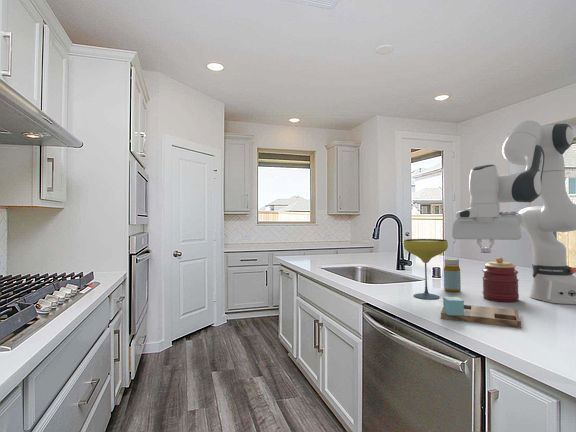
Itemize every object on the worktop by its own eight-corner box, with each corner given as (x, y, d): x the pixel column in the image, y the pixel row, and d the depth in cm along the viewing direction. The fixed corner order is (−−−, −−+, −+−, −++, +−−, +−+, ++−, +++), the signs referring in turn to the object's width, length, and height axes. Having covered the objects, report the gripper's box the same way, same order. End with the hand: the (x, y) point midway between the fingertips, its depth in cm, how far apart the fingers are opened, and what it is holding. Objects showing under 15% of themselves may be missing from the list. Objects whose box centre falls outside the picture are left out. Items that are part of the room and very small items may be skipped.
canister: (525, 303, 134) (524, 259, 134) (489, 302, 136) (488, 258, 137) (510, 295, 147) (509, 255, 147) (478, 295, 149) (477, 255, 149)
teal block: (458, 311, 117) (458, 297, 117) (464, 315, 112) (463, 300, 112) (443, 311, 118) (443, 296, 118) (448, 315, 113) (448, 300, 113)
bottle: (463, 292, 155) (462, 259, 155) (448, 292, 155) (447, 260, 156) (456, 288, 162) (455, 258, 162) (441, 289, 162) (441, 258, 163)
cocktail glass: (401, 291, 158) (400, 239, 158) (442, 292, 155) (440, 238, 156) (409, 301, 140) (407, 241, 141) (455, 302, 138) (453, 241, 138)
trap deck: (517, 315, 117) (517, 309, 117) (521, 328, 105) (521, 321, 105) (445, 307, 129) (445, 302, 129) (440, 318, 116) (440, 312, 116)
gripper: (520, 211, 112) (521, 252, 111) (452, 213, 122) (453, 251, 122) (522, 211, 106) (523, 254, 106) (451, 213, 117) (452, 252, 116)
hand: (485, 252), depth 114 cm, fingers closed
